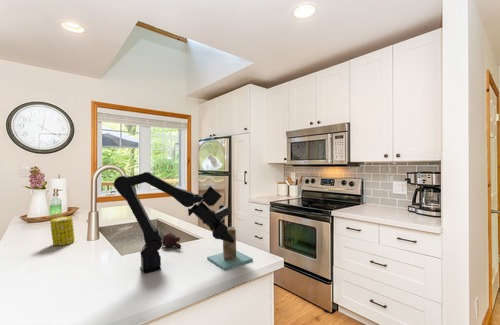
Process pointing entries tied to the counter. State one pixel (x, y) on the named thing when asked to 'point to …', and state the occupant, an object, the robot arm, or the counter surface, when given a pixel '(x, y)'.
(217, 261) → the teal board
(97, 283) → the counter surface
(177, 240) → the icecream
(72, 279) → the counter surface
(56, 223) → the food
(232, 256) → the walnut pillar
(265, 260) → the counter surface
